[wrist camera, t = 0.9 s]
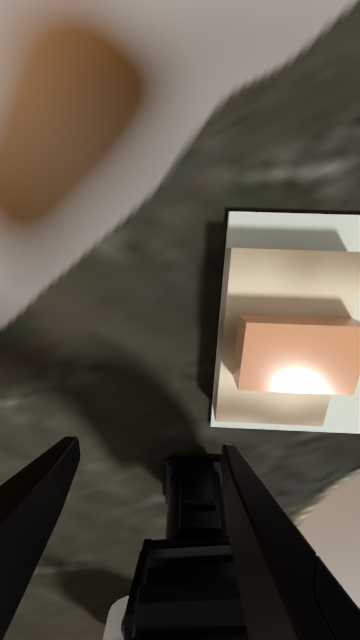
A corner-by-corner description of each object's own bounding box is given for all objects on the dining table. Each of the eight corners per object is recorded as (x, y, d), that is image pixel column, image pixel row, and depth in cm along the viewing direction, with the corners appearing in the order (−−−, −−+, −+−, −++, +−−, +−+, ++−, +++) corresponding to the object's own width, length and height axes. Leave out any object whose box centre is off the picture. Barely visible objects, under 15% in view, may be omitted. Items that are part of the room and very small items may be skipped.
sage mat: (406, 432, 22) (410, 435, 21) (210, 423, 22) (210, 426, 22) (494, 219, 16) (501, 219, 16) (228, 212, 16) (229, 211, 16)
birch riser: (307, 406, 21) (322, 426, 19) (212, 402, 21) (215, 421, 19) (344, 251, 17) (369, 252, 15) (225, 248, 17) (231, 247, 15)
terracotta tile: (335, 379, 18) (353, 395, 16) (232, 375, 18) (238, 390, 16) (352, 318, 16) (374, 327, 14) (239, 313, 16) (246, 322, 14)
